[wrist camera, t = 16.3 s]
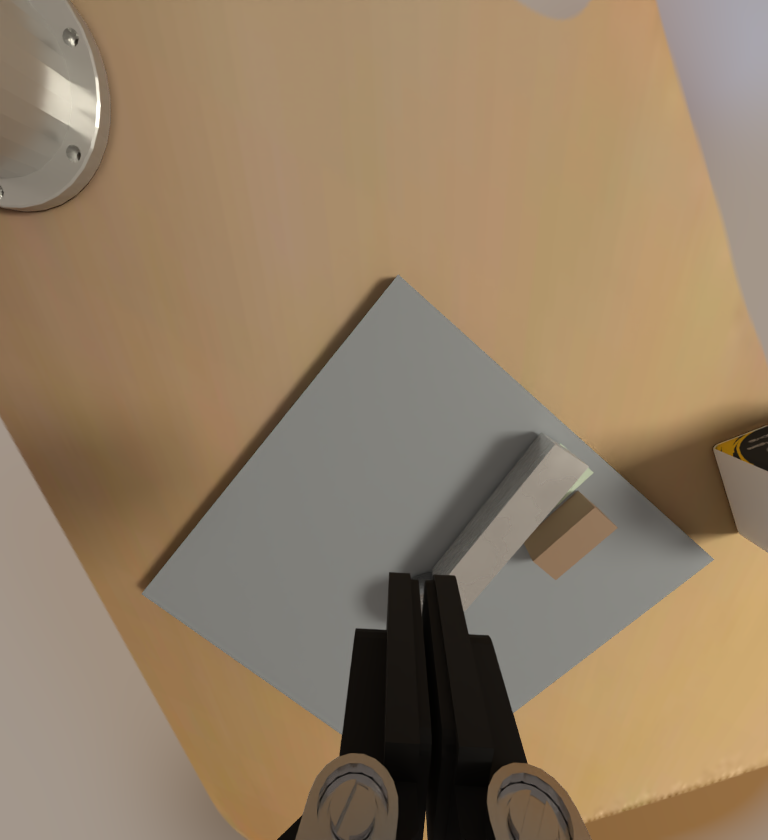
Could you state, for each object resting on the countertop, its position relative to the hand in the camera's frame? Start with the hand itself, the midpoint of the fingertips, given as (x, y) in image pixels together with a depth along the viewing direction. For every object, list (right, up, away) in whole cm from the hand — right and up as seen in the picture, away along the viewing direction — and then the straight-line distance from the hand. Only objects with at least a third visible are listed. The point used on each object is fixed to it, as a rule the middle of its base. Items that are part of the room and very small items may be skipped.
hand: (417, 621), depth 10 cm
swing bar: (+6, -3, +17) cm, 18 cm away
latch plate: (+1, -6, +19) cm, 20 cm away
